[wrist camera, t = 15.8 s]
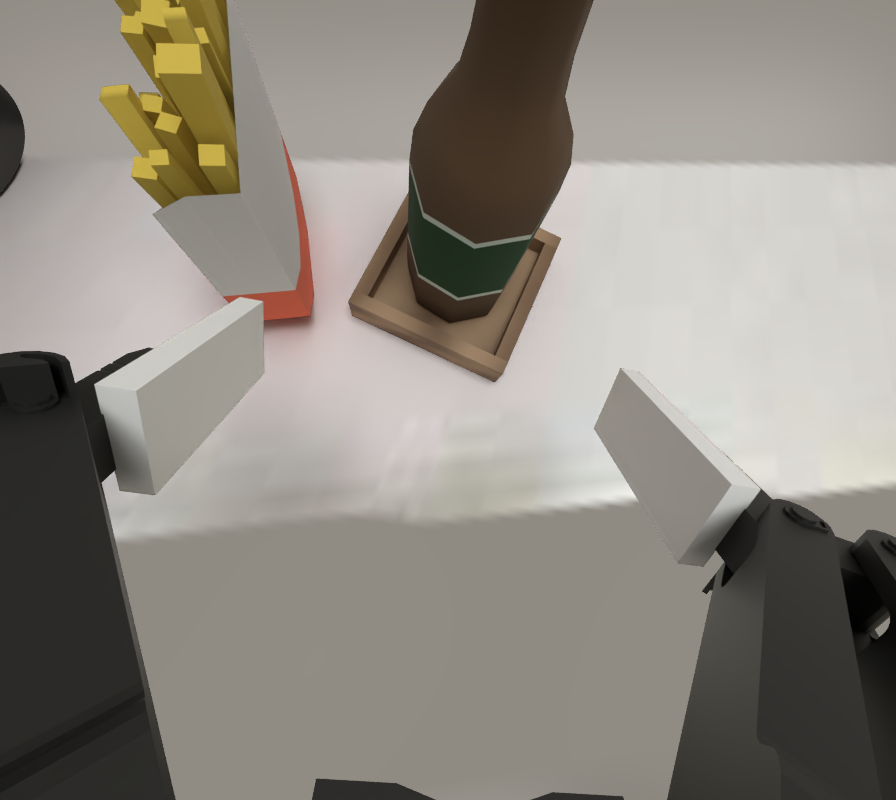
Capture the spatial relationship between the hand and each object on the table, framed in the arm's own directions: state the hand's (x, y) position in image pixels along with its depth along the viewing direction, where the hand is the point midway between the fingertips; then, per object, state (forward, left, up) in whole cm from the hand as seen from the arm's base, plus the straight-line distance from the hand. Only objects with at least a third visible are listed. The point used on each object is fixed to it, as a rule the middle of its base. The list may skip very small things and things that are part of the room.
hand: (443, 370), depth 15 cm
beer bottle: (-2, +11, -14) cm, 18 cm away
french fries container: (-15, +6, -16) cm, 23 cm away
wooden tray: (-2, +11, -15) cm, 19 cm away
